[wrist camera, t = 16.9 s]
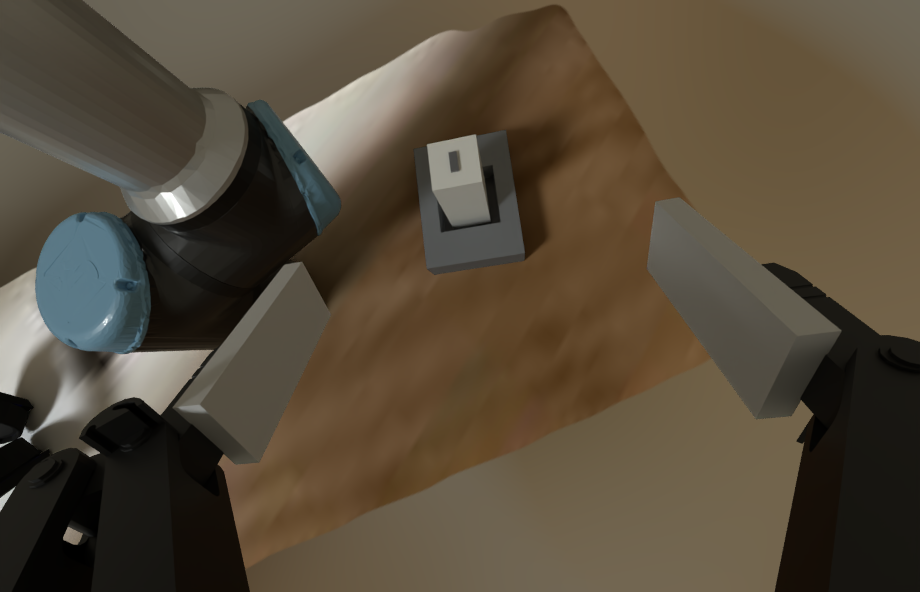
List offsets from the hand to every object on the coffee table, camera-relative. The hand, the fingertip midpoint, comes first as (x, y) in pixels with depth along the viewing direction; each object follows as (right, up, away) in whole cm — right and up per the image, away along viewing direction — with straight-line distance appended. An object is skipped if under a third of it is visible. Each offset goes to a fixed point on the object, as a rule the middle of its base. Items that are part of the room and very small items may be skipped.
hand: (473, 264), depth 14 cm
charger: (+1, +11, +33) cm, 35 cm away
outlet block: (+1, +10, +35) cm, 36 cm away
